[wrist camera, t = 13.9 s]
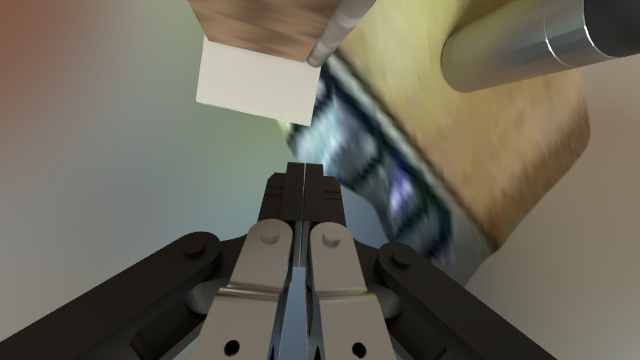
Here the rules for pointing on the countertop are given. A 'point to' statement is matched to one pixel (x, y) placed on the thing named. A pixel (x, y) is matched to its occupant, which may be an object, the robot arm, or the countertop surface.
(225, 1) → the brown wooden slab
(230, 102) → the base plate
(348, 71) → the countertop surface
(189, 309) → the robot arm
